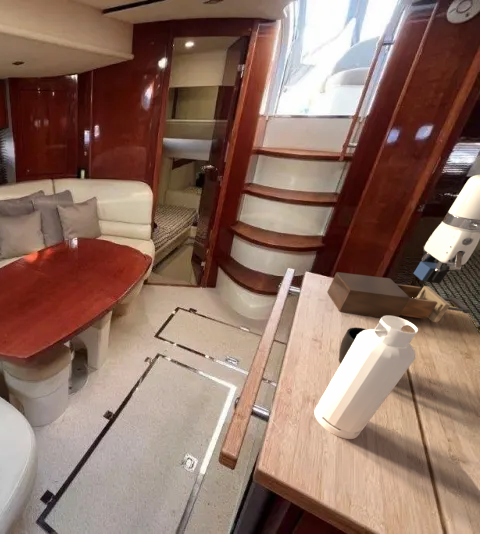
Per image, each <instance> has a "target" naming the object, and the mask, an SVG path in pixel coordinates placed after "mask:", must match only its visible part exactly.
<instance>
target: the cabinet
mask: <svg viewBox="0 0 480 534" xmlns="http://www.w3.org/2000/svg"><path fill="white" fill-rule="evenodd" d="M396 284H397V283H395V281H394V280H392V279H391V278H389V277H381V276H372V275H364V274H357V273H355V274H354V273H348V272H339V271H336V272H335V275H334V276H333V278H332V281H331V283H330V285H329V288H328V290H327V291H326V293H327V295H328V296H329V298H330V299H331V301H332V303H333V304H334V305H335V307H336V309H337V310H338V311H339V313H346V314H353V315H360V316H367V317H374V318H380V319H381V318H382V317H383V316H396V317H399V316H401V315H400V313H401V312H402V310H403V309H404V307H405V306H406V304H407V302H408V301H409V299H410V297H409V296H408V295H407V294H406V293H405V292H404V291H403V290H402V289H400V288H399V287H398V286H397V285H396Z"/></svg>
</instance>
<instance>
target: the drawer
mask: <svg viewBox="0 0 480 534" xmlns="http://www.w3.org/2000/svg"><path fill="white" fill-rule="evenodd" d="M395 284H396V285H397V286H398V287H399V288H400V289H402V290H403V291H404V292H405V293H406V294H407V295H408V296H409V297H410V299H409V301H408V302H407V304H406V306H405V307H404V309H403V310H402V312H401V313H400V315H399V316H403V317H410V318H416V319H423V320H427V319H429V320H430V321H431V322H432V323H437V324H438V323H439V322H440V321H441V319H442V317H443V316H444V315H445V313H446V312H447V311H448V310H449V311H457V312H462V313H463V314H470V313H471V309H470V308H469V307H467V306H466V305H465V304H464V303H462V302H461V301H460V300H459V299H457V298H456V297H455V296H454V297H453V296H452V297H450V298H449V297H442V296H440V294H438V293H437V292H436V291H435V290H433V288H431V286H427V285H424V286H423V287H421V286H416V285H409V284H401V283H400V284H399V283H395ZM412 297H413V298H412ZM449 302H450V303H452V304H453V305H454V306H455V307H453V306H451V304H450V303H449Z"/></svg>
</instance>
